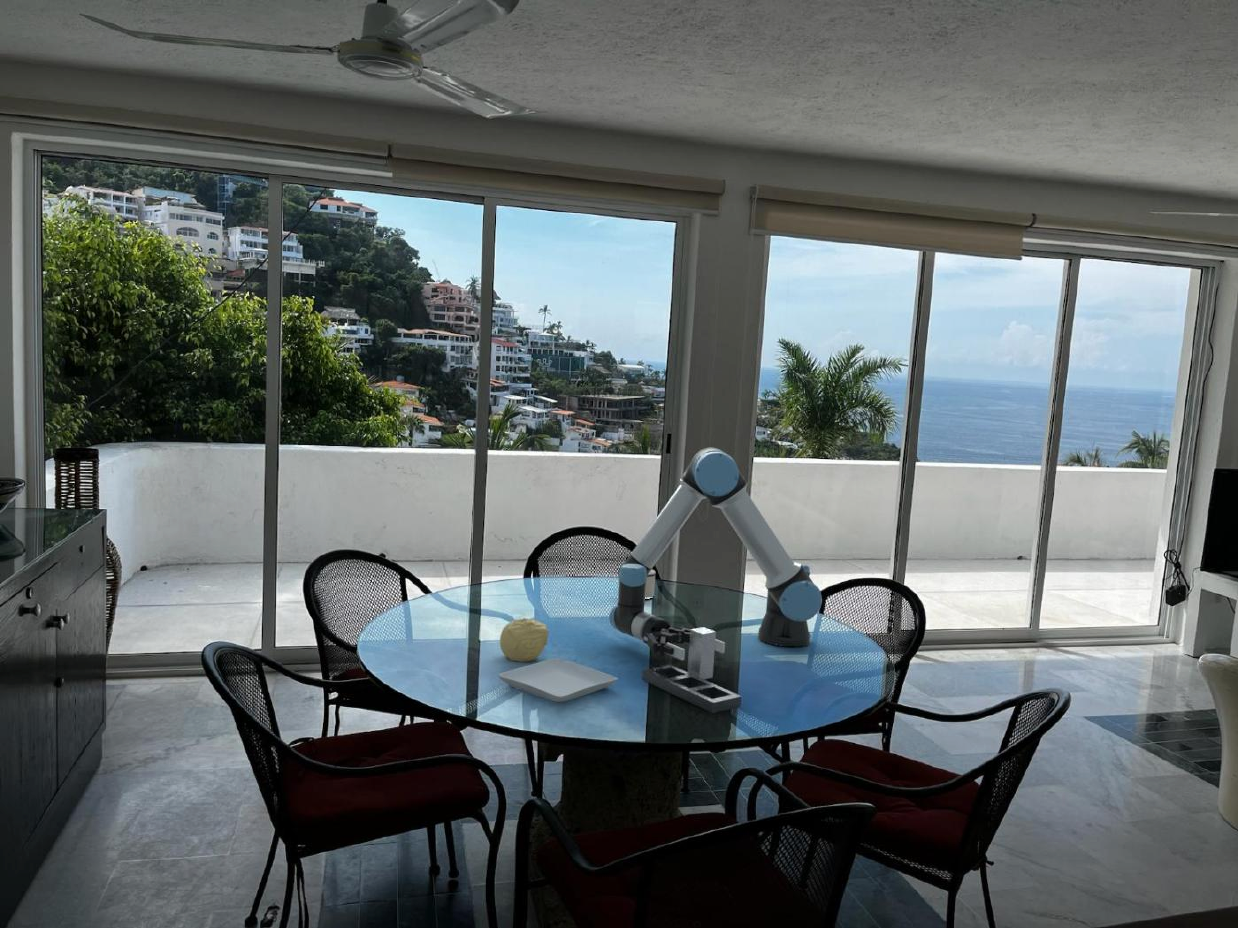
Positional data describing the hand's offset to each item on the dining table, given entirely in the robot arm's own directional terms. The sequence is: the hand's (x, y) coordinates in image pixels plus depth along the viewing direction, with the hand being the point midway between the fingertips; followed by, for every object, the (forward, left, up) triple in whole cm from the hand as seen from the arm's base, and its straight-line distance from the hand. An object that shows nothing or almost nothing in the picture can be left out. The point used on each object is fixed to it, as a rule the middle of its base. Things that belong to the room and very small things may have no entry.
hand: (704, 651), depth 241 cm
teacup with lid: (-36, -73, -7) cm, 82 cm away
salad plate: (+37, -11, -8) cm, 39 cm away
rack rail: (+10, +7, -7) cm, 14 cm away
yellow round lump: (+33, -34, -7) cm, 48 cm away
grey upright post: (0, -1, -7) cm, 7 cm away
